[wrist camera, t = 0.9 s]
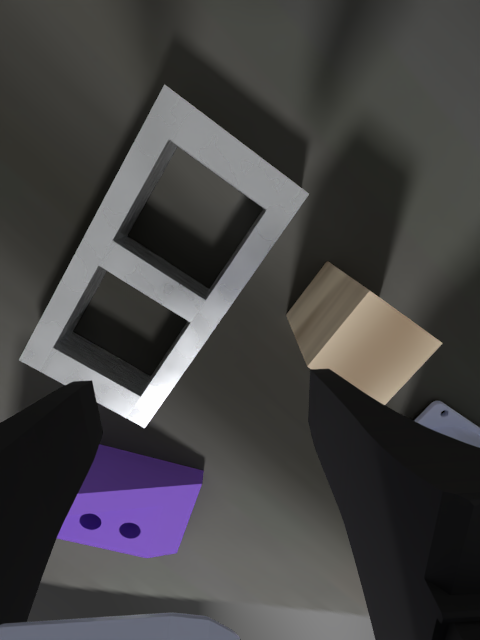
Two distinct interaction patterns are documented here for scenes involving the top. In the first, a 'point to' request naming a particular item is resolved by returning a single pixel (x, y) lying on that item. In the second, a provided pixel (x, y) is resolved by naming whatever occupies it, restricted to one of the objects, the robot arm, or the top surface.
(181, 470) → the bracket
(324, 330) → the peg
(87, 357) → the grey rectangular frame
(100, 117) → the top surface
